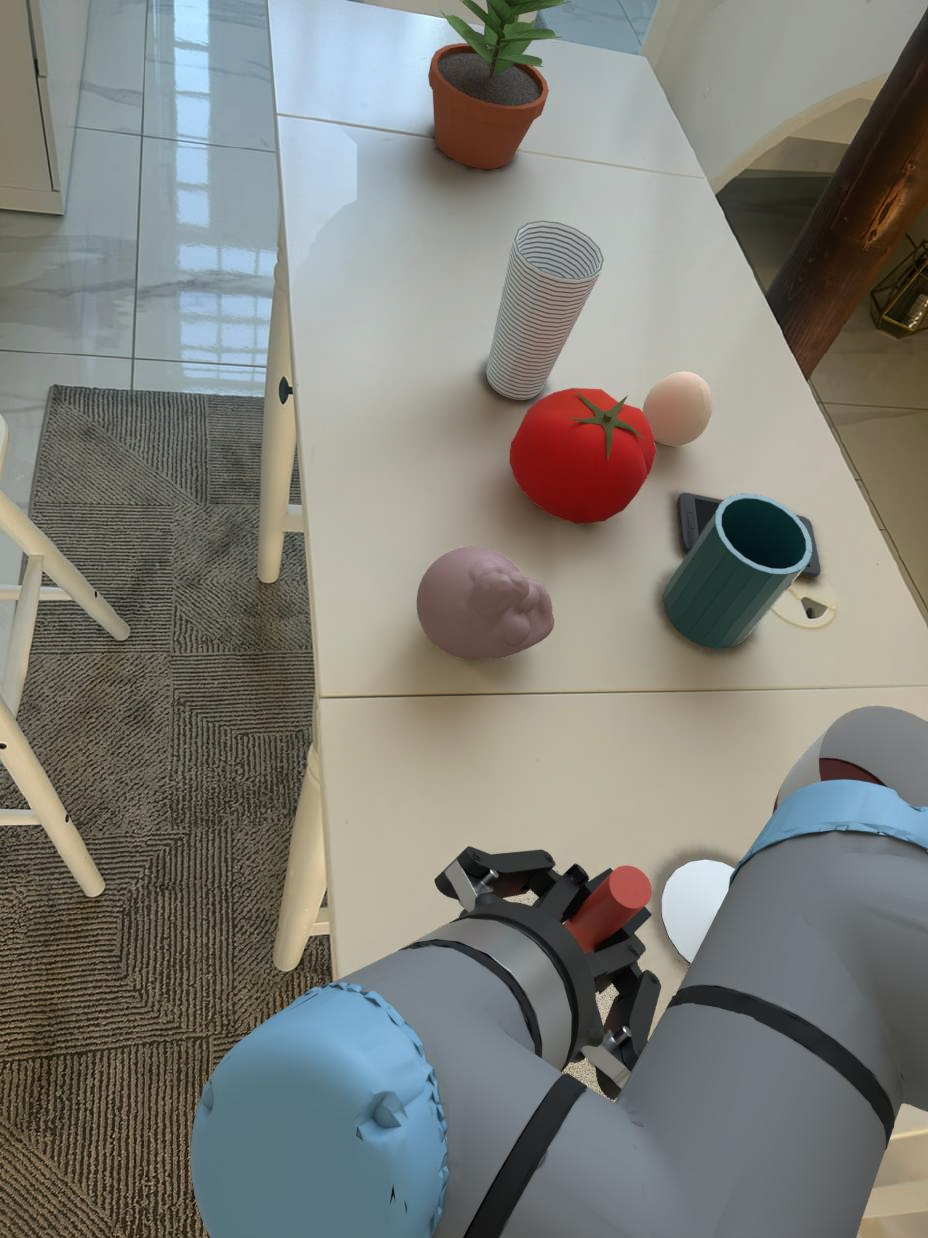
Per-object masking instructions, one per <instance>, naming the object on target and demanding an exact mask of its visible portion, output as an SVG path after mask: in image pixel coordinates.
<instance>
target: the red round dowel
mask: <svg viewBox="0 0 928 1238" xmlns="http://www.w3.org/2000/svg"><path fill="white" fill-rule="evenodd" d="M612 870H613V871H612V873H611V874H610V875H609V876H608V877H607V878H606V879H605V880H604V881H603V882H602V883H601V884H600V885H599V886H598V888H597V889H596V890H595V891H594V892H593V893H592V894H591V895H590V896H589V897H588V898H587V899H586V900H585V902H584V903H583V904H582V906H581V907H580V908H579V909H578V910H577V911H576V912H575V913H574V914H573V915H572V916H571V917H570V918H569V919H568V920H567V921H566V922H564V923H563V925H564V926H565V927H566V928H567V929H568V930H569V931H570V932H571V933H572V935H573V936H574V937H575V938H576V940H577V941H578V943H579V944H580V946H581V947H582V949H583V951H584V953H587V952H590V951H593V952H594V951H595V950H596V949H597V948H598V947H599V946H600V945H601V944H602V943H603V942H604V941H606V940H607V939H608V938H609V937H610V936H612V935H613V934H615V933H616V932H617V931H618V930H619V929H620V928H621V927H622V926H624V925H625V924H626V923H627V922H628V921H629V920H630V919H631V918H632V917H633V916H634V915H636V914H637V913H638V912H639V911H640V910H641V909H642V908H643V907H644V906H645V907H646V906H647V905H648V903H649V902H650V901H651V898H652V894H653V892H652V891H653V889H652V884H651V881H650V879H649V878H648V876H647V875H646V874H645V872H643V870H641V869H640V868H638V867H636V866H633V865H629V864H624V865H620V866H617V867H616V868H614V869H612Z"/></svg>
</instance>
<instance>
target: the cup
mask: <svg viewBox="0 0 928 1238" xmlns="http://www.w3.org/2000/svg"><path fill="white" fill-rule="evenodd" d="M510 248H511V249H510V253H509V259H508V263H507V267H506V273H505V278H504V282H503V286H502V287H503V288H502V292H501V297H500V302H499V307H498V310H497V311H498V312H497V315H496V320H495V321H496V322H495V327H494V331H493V337H492V341H491V342H492V343H491V346H490V351H489V356H488V360H487V361H488V362H487V365H486V370H485V375H486V378H487V382H488V383H489V385H490V386H491V388H492V389H493V390H494V391H496V392H497V393H498V394H500V395H502V396H503V397H506V398H509V399H512V400H518V401H526V400H531V399H533V398H535V397H536V396H537V395H539V394H540V393H541V392H542V390H543V388H544V387H545V385H546V382H547V380H548V378H549V377H550V374H551V373H552V371H553V368H554V367H555V364H556V363H557V361H558V359H559V356H560V354H561V353H562V351H563V348H564V347H565V345H566V343H567V341H568V339H569V337H570V335H571V333H572V331H573V329H574V327H575V325H576V323H577V321H578V319H579V317H580V315H581V313H582V311H583V309H584V307H585V305H586V303H587V302H588V299H589V297H590V295H591V293H592V291H593V290H594V287H595V285H596V283H597V281H598V279H599V277H600V275H601V273H602V271H603V267H604V264H605V259H604V256H603V252H602V249H601V248H600V247H599V245H597V244H596V242H595V241H594V240H593V239H592V238H591V237H590V236H588V235H587V234H585V233H584V232H582V231H580V230H579V229H577V227H573V226H570V225H567V224H565V223H561V222H558V221H550V220H537V221H530V222H526V223H525V224H524V225H521V226H520V227H519V228H516V231H515V234H514V236H513V239H512V243H511V247H510Z"/></svg>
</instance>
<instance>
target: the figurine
mask: <svg viewBox="0 0 928 1238" xmlns="http://www.w3.org/2000/svg"><path fill="white" fill-rule="evenodd" d="M416 613H417V618H418V621H419V624H420V627H421V628H422V630H423V631H424V633H425V635H426V637H427V638H428V639H429V640H430V641H431V643H432V644H433V645H434V646H436V647H437V648H438V649H439V650H441V651H442V652H444V653H446V654H448V655H450V656H452V657H455V658H458V659H463V660H469V661H471V660H472V661H477V660H487V659H488V660H489V659H493V660H499V659H503V658H505V657H508V656H512V655H514V654H518V653H520V652H523V651H525V650H528V649H530V648H532V647H534V646H535V645H537V644H539V643H540V642H542V641H544V640H545V639H546V638H548V636H550V634H551V633H552V631H553V629H554V627H555V618H554V614H553V604H552V599H551V596H550V594H549V592H548V590H547V588H546V587H545V586H544V585H543V583H542V582H540V581H539V580H537V579H535V578H532V577H530V576H526V575H524V574H523V573H522V572H521V570H520V569H519V568H518V566H517V565H516V564H515V563H514V562H513V561H512V560H511V559H509V558H508V557H507V556H505V555H503V554H502V553H500V552H498V551H496V550H494V549H491V548H489V547H483V546H464V547H459V548H456V549H452V550H450V551H448V552H446V553H443V555H441V556H440V557H438V558H437V559H436V560H435V561H433V562H432V564H430V566H429V567H428V568H427V569H426V571H425V573H424V574H423V575H422V578H421V580H420V582H419V584H418V589H417V594H416Z"/></svg>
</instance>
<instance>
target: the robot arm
mask: <svg viewBox="0 0 928 1238" xmlns="http://www.w3.org/2000/svg"><path fill="white" fill-rule="evenodd" d="M772 813H773V812H772ZM457 855H458V856H456V857H455V858H454V859H453V860H452V861H451V862H450V863H449V864H448V865H447V866H446V867H445V868H444V869H443V870H442V871H441V872H440V873H439V874H438V875H437V876H436V877H435V878H434V879H433V882H434V885H435V887H436V889H437V890H438V891H439V892H440V893H441V894H442V895H443V896H445V897H447V898H449V899H453V900H456V901H458V904H459V905H460V907H462V908H463V909H462V911H461V912H460V913H459V915H458V917H457V918H455V919H453V920H451V921H449V922H448V923H445V924H443V925H441V926H439V927H437V928H436V929H434V930H432V931H431V932H428V933H427V934H424V936H421V937H420V938H418V939H416V940H414V941H412V942H411V943H409V944H407V945H405V946H402V948H399V949H398V950H396V951H394V952H392V953H390V954H388V955H386V956H384V957H382V958H380V959H378V960H376V961H374V962H372V963H369V964H367V965H366V966H364V967H361V968H359V969H358V970H355V971H352V972H351V973H349V974H346V975H345V976H343V977H340V978H338V979H337V980H334V981H332V982H330V983H325V984H322V985H319V986H314V987H312V988H310V989H309V990H307V991H306V992H305V993H304V994H302V995H300V996H297V997H296V998H295V999H294V1000H292V1001H291V1002H290V1004H288V1005H287V1006H286V1007H285V1008H283V1009H282V1010H280V1011H278V1012H276V1013H275V1014H274V1015H272V1016H270V1017H269V1018H268V1019H266V1020H265V1021H264V1022H263V1023H261V1024H260V1025H258V1026H257V1027H255V1028H254V1029H252V1031H251V1032H250V1033H248V1034H247V1035H246V1036H244V1037H243V1038H241V1039H240V1040H239V1041H238V1042H237V1043H236V1044H234V1045H233V1047H232V1048H231V1049H230V1050H229V1051H228V1052H227V1053H226V1054H225V1055H224V1056H223V1057H222V1059H221V1060H220V1061H219V1063H218V1064H217V1066H215V1068H214V1070H213V1071H212V1074H211V1076H210V1077H209V1079H208V1080H207V1081H206V1083H205V1084H204V1086H203V1089H202V1093H201V1097H200V1099H199V1102H198V1105H197V1108H196V1111H195V1116H194V1120H193V1125H192V1131H191V1138H190V1140H191V1141H190V1170H191V1171H190V1172H191V1182H192V1187H193V1194H194V1197H195V1202H196V1205H197V1208H198V1212H199V1216H200V1218H201V1221H202V1222H203V1225H204V1227H205V1230H206V1232H207V1234H208V1236H209V1238H857V1237H858V1234H859V1231H860V1230H859V1229H860V1226H861V1224H862V1220H863V1217H864V1215H865V1211H866V1208H867V1205H868V1203H869V1199H870V1198H871V1193H872V1191H873V1188H874V1185H875V1182H876V1179H877V1176H878V1173H879V1169H880V1167H881V1164H882V1161H883V1159H884V1155H885V1152H886V1150H887V1149H888V1146H889V1143H890V1140H891V1137H892V1134H893V1132H894V1129H895V1123H896V1120H897V1118H898V1116H899V1112H900V1110H901V1108H902V1105H903V1104H904V1105H909V1106H911V1107H914V1108H915V1109H918V1110H920V1111H924V1112H927V1113H928V807H923V806H922V807H914V806H912V805H910V804H908V803H907V802H905V801H904V800H902V799H901V798H899V795H898V793H897V792H896V791H895V790H893V789H890V788H887V787H884V786H881V785H877V784H873V783H869V782H863V781H858V780H830V781H821V782H816V783H813V784H810V785H808V786H805V787H803V788H800V789H798V790H796V791H795V792H793V793H792V794H790V795H789V796H788V797H786V798H785V799H784V800H783V802H782V803H781V804H780V805H779V806H778V807H777V809H776V810H775V812H774V813H773V815H772V814H771V816H770V818H769V819H768V821H767V822H766V823H765V825H764V827H763V828H762V830H761V831H760V833H759V834H758V835H757V837H756V839H755V840H754V842H753V843H752V844H751V846H750V847H749V849H748V851H747V852H746V853H745V854H744V855H743V857H742V858H741V860H739V861H737V864H736V867H735V868H734V869H735V870H734V871H733V873H732V874H731V876H730V880H729V889H728V892H727V894H726V896H725V898H724V900H723V902H722V904H721V906H720V908H719V910H718V912H717V914H716V916H715V918H714V920H713V922H712V924H711V926H710V928H709V930H708V932H707V934H706V935H705V937H704V939H703V941H702V943H701V945H700V947H699V949H698V951H697V953H696V955H695V957H694V959H693V961H692V963H690V965H689V967H688V970H687V971H686V972H685V975H684V977H683V979H682V980H681V983H680V984H679V987H678V988H677V990H676V992H675V994H674V995H672V996H671V999H670V1001H669V1002H668V1003H667V1005H666V1008H665V1010H664V1012H663V1013H662V1014H661V1016H660V1018H659V1020H658V1021H657V1024H656V1025H655V1027H654V1029H653V1031H652V1033H651V1034H650V1032H651V1028H652V1024H653V1020H654V1018H655V1013H656V1009H657V1005H658V1002H659V998H660V994H661V991H662V984H661V981H660V979H659V977H658V976H657V975H656V974H655V973H653V972H652V971H651V970H650V969H647V968H646V969H644V971H643V970H642V969H641V967H640V966H639V963H638V961H639V960H640V959H641V956H643V954H645V952H646V951H647V950H646V949H647V948H646V944H645V943H644V942H643V941H642V940H641V939H640V938H639V937H638V935H637V934H636V932H637V931H638V930H639V929H640V928H641V927H642V926H643V925H644V924H645V923H647V921H648V920H649V919H650V918H651V917H652V916H653V913H651V912H650V910H649V909H648V908H647V906H646V905H645V906H644V907H643V908H642V909H641V910H640V911H639V912H638V913H637V914H636V915H634V916H633V917H632V918H631V919H630V920H629V921H628V922H627V923H626V924H625V925H624V926H622V927H621V928H620V929H619V930H618V931H617V932H616V933H615V934H613V935H612V936H610V937H609V938H608V939H607V940H606V941H604V942H603V943H602V944H601V945H600V946H599V947H598V948H597V949H596V950H595V951H594V952H593V951H590V952H587V953H584V951H583V949H582V947H581V946H580V944H579V943H578V941H577V940H576V938H575V937H574V936H573V935H572V933H571V932H570V931H569V930H568V929H567V928H566V927H565V926H564V925H563V924H564V923H565V922H566V921H567V920H568V919H569V918H570V917H571V916H572V915H573V914H574V913H575V912H576V911H577V910H578V909H579V908H580V907H581V906H582V904H583V903H584V902H585V900H586V899H587V898H588V897H589V896H590V895H591V894H592V893H593V892H594V891H595V890H596V889H597V888H598V886H599V885H600V884H601V883H602V882H603V881H604V880H605V879H606V878H607V877H608V876H609V875H610V874H611V873H612V871H613V870H614V869H613V868H612V867H608V868H607V869H606V870H604V871H602V872H601V873H598V875H596V876H595V877H593V878H592V879H590V876H589V874H588V873H587V871H586V870H585V869H584V868H583V867H582V866H581V865H580V864H578V863H573V864H572V865H571V866H570V867H569V868H568V869H567V870H566V871H565V872H564V873H563V874H560V873H558V872H557V871H556V870H555V869H554V867H555V866H556V865H557V864H556V862H555V860H554V857H553V856H552V855H551V853H549V852H548V851H546V850H544V849H533V850H532V849H531V850H522V851H521V850H519V851H510V852H500V853H489V852H487V851H483V850H481V849H478V848H476V847H473V846H469V845H468V846H466V847H465V848H464V849H463V850H462V851H461V852H460V853H459V854H457ZM529 891H531V892H532V893H533V894H534V895H535V896H536V897H537V898H536V900H534V902H533V903H532V904H531V905H530V904H527V903H523V902H516V901H509V900H506V898H511V897H516V896H522V895H526V894H527V893H529ZM611 985H612V986H613V987H614V989H615V990H616V991H617V993H618V994H617V995H616V996H615V997H614V998H613V999H612V1003H611V1005H610V1008H609V1011H608V1013H607V1015H606V1019H605V1021H604V1022H603V1019H602V1016H601V1013H600V1008H599V1005H598V1002H597V993H598V995H601V994H602V993H604V992H605V991H606V990H607V989H608V988H609V987H610V986H611ZM585 1059H587V1061H588V1064H590V1066H591V1067H592V1068H594V1071H595V1076H596V1081H597V1086H598V1087H599V1089H600V1091H601V1092H602V1094H601V1093H600V1092H597V1091H596V1090H594V1089H593V1088H590V1087H589V1086H587V1085H586V1084H585V1083H583V1082H582V1081H580V1079H577V1078H576V1077H574V1075H572V1074H571V1073H569V1072H566V1073H563V1072H564V1070H565V1069H566V1068H568V1066H569V1064H570V1063H571V1064H577V1063H581V1062H582V1061H584V1060H585Z"/></svg>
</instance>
